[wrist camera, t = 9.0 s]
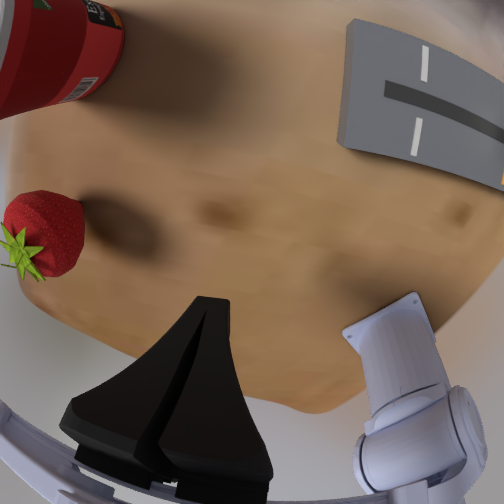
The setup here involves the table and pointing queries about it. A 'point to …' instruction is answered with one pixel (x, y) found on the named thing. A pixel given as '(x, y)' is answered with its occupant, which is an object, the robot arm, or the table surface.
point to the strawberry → (43, 233)
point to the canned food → (55, 51)
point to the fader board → (421, 104)
